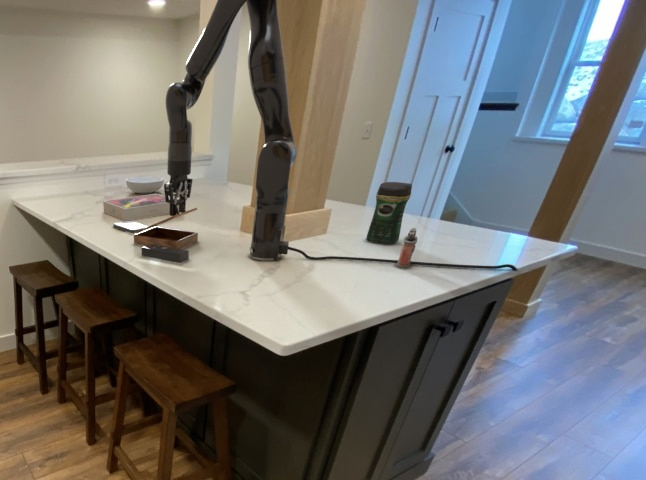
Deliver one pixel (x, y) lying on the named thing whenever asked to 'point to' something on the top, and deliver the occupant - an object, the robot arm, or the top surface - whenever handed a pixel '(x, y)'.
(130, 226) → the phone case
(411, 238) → the lighter
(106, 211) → the product packaging
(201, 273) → the top surface
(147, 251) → the remote
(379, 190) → the coffee jar
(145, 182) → the serving bowl
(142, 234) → the chest
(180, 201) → the lid
